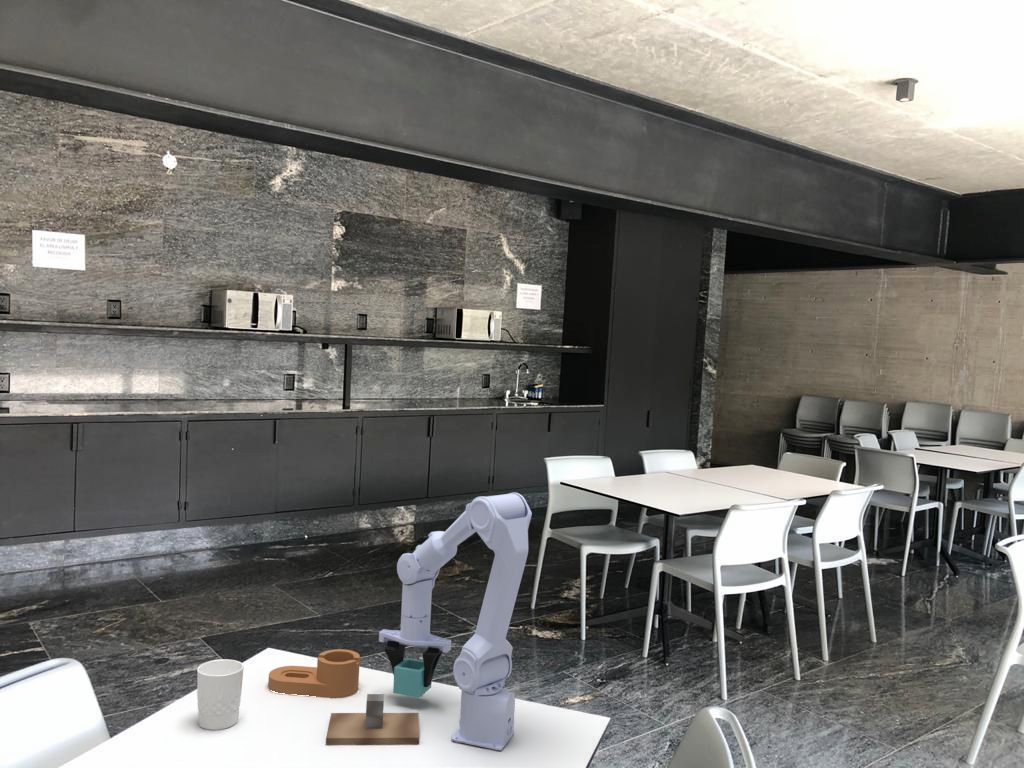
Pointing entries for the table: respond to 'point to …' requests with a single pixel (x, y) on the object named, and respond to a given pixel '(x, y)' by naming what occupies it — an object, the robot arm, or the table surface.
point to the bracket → (320, 676)
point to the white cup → (219, 693)
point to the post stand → (373, 726)
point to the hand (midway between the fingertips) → (412, 682)
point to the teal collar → (410, 678)
